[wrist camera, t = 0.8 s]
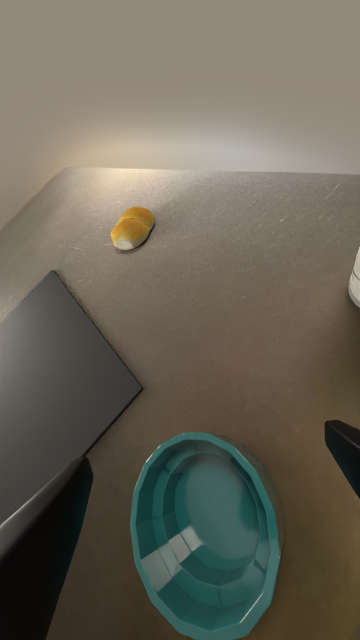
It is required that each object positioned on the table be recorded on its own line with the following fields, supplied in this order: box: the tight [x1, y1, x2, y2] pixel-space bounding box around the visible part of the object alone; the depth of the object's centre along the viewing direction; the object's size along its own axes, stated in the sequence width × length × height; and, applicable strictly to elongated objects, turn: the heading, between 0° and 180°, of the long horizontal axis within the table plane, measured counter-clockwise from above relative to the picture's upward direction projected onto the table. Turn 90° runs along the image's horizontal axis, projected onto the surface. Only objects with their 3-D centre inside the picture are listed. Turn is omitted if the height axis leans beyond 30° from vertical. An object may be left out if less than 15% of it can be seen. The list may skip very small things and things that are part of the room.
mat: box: [0, 270, 143, 526], centre depth 38 cm, size 40×24×1 cm, turn 42°
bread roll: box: [111, 207, 154, 250], centre depth 42 cm, size 8×9×4 cm
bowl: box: [130, 433, 285, 640], centre depth 16 cm, size 10×10×5 cm
